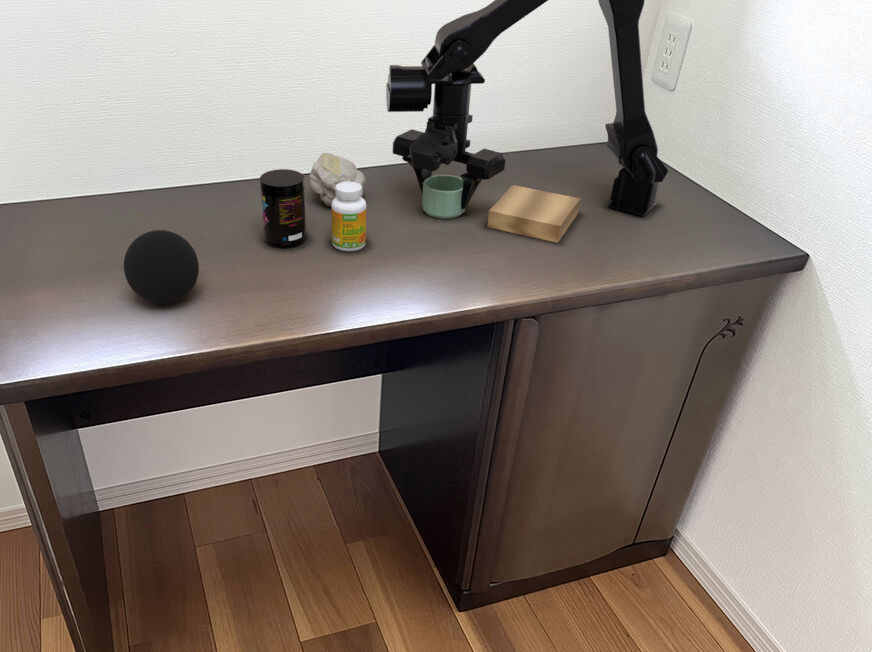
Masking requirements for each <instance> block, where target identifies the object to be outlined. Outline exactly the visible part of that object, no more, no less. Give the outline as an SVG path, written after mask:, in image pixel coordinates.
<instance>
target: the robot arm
mask: <svg viewBox="0 0 872 652" xmlns="http://www.w3.org/2000/svg"><path fill="white" fill-rule="evenodd" d="M547 2H549V0H493V1H492V2H491V3H489V4H488V5H486V6H484V7H483V8H481V9H478V10H476V11H472V12H470V13H466V14H463V15H461V16H459V17H457V18H455V19H452V20H451V21H449V22H447V23H445V24H443V25H442V26H441V27H440V28H439V29H438V31H437V32H436V36H435V40H434V44H433V46H432V47H431V49H430V50H429V51H428V53H426V55H425V57H423V59H422V60H421V62H420V65H408V66H406V65H399V64H390V65H389V66H388V69H389V71H388V75H387V83H386V86H385V91H386V92H385V94H386V95H385V100H386V110H387V113H409V112H410V113H412V112H415V113H416V112H418V113H419V112H420V113H421V112H422V113H423V112H424V110H425V109H428V108H429V106H430V105H431V103H432V94H433V106H432V116H430V117H428V118H427V122H426V127H425V130H424V131H420V130H416V129H413V128H412V129H409V130H407V131H405V132H402V133H400V134H398V135H397V136H395V138H394V140H393V142H392V154H393V155H396V156H399V157H401V159H402V160H403V161H404V162H406V163H408V165H410V166H411V167H412V169H413V171H414V173H415V174H414V175H415V177H416V179H417V182H418V186H419V189H420V192H421V195H422V196H423V182H424V180H425V179H426V178H428V177H430V176H433V172H435V171H437V170H438V169H439V168H440V167H441V165H446V166H449V165H450V164H451V163H452V162H455V163H459V164H463V165H466V167H465V172H464V173H461V174H460V178H462V180H463V189H462V198H461V209H465V208H466V209H467V206H468V205H469V203H470V201H471V199H472V198H473V196H474V194H475V192H476V190H477V189H478V187H479V186H480V183H481V182H482V180H483V181H484V180H486V181H487V180H491V179H492V178H494V177H495V176H497V175H498V174H500V173H502V172H503V171H505V168H506V158H505V155H504V154H503V152H500V151H495V150H491V149H488V148H482V149H481V150H478V151H477V152H475V153H473V152H469V151H466V150H467V149H468V148H469V147H471V140H470V139H467V138H468V128H469V127H468V126H469V124H470V123H472V122H473V115H472V114H470V105H471V95H472V94H471V93H472V84H473V85H475V84H477V85H479V84H480V85H483V84H485V82H486V78H485V77H484V76H483V74H482V73H481V72H480V71H479V70H478V67H477V66H476V64H475V63H476V62H477V61H478V60H479V59H480V57H482V56H483V55H484V54H485V53H486V52H487V50H488V49H489V48H490V46H491V45H492V44H493V43H494V41H495V40H496V39H497V38H498V37H499V36H500V35H501V34H502V33H503V32H505V31H507V30H508V29H509V28H511V27H512V26H514V25H515V24H517V23H518V22H519V21H521V20H522V19H524V18H526V17H527V16H528V15H529V14H531V13H533V12H534V11H536V9H538V8H540V7H541V6H542V5H545V3H547ZM597 2H598V5H599V7H600V10H601V11H602V15H603V17H604V19H605V22H606V24H607V28H608V39H609V50H610V58H611V59H610V60H611V69H612V81H613V90H614V102H615V110H616V112H615V116H614V118H613V122H610V123H606V124H604V126H605V130H606V133H607V141H606V146H607V148H608V149H609V150H610V151H611V152H612V153H613V155H614V156H615V157H616V158H617V161H618V164H619V165H621V166H622V168H621V169H620V170H618V175H617V176H616V177H614V178H613V179H614V180H613V182H612V189H611V193H610V198H609V199H610V202H609V203H608V208H610V209H613V210H616V211H620V212H623V213H628V214H631V215H635V216H638V217H645V216H646V215H647V214H648V213H649V212H651V211H652V210H653V209H655V207H656V206H657V204H658V202H657V201H655V200H656V195H657V192H658V188H659V185H660V183H662V182H663V181H664V179H665V178H666V176H667V174H668V173H669V169H668V168H667V167H666V165H665V164H664V163H663V161H661V160H660V158H659V157H658V155H659V154H658V153H659V148H658V143H657V140H656V137H655V133H654V130H653V127H652V125H651V122H650V121H649V118H648V116H647V112H646V104H645V91H644V90H645V89H644V79H643V78H644V77H643V64H642V53H641V40H640V39H641V38H640V26H639V25H640V18H641V15H642V12H643V9H644V6H645V0H597ZM433 85H434V88H433ZM432 92H433V93H432ZM466 209H465V210H466Z"/></svg>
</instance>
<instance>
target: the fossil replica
mask: <svg viewBox="0 0 872 652" xmlns="http://www.w3.org/2000/svg"><path fill="white" fill-rule="evenodd" d="M341 182H356V183H359V184H360V185H361V186H362V196H363V195H364V189H365V187H366V184H367V180H366V178H365V175H364V173H363V172H362V171H360V170H359V169H358V168H357V166H356V165H355V163H354V162H352V161H350V159H348V158H345V157H343V156H338V155H335V154H334V153H330V152H322V153H321V154H320V155H319V157H317V160H316V161H315V162H313V164H312V167H311V170H310V174H309V183H310V187H311V189H312V191H313V192H314V193H315V194H318V195H319V198H320V200H321V201H322V202H324V204H325V206H328V207H331V206H332V201H333V199H334V198H336V197H337V196H336V185H337V184H339V183H341Z"/></svg>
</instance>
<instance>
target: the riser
mask: <svg viewBox="0 0 872 652" xmlns="http://www.w3.org/2000/svg"><path fill="white" fill-rule="evenodd" d="M580 202H581V198H579V197H576V196H575V197H574V196H571V195H565V194H560V193H554V192H549V191H545V190H539V189H534V188H531V187H530V188H529V187H525V186H519V185H515V184H512V185H511V186H510V187H509V188H508V189H507V190H506V192H505V193H504V194H502V196H501V197H500V198H499V199H498V200H497V201H496V202H495V203H494V205H493V206H492V207H491V208H490V209H489V210H488V215H487V223H486V224H487V225H486V227H487V228H489V229H493V230H499V231H502V232H506V233H512V234H516V235H520V236H525V237H529V238H534V239H538V240H541V241H547V242H552V243H555V244H558V243H559V241H560V240H561V239H562V237H563V236H564V235H565V233H566V232H567V230H568V229H569V227H570V226H571V224H572V223H573V222H574V220H575V219H576V217H577V216H578V214H579V208H580Z"/></svg>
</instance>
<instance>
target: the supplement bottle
mask: <svg viewBox="0 0 872 652" xmlns="http://www.w3.org/2000/svg"><path fill="white" fill-rule="evenodd" d="M336 196H337V197H336V198H334V199H333V201H332V206H330V207H331V210H330V211H331V244H332V246H333V247H334V248H335V249H336V250H338V251H342V252H356V251H360V250H362V249H363V248H365V246H366V243H367V202H366V200H365V199H364V198H363V197H362V196H363V195H362V186H361V185H360V184H359V183H356V182H341V183H339V184H337V185H336Z"/></svg>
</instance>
